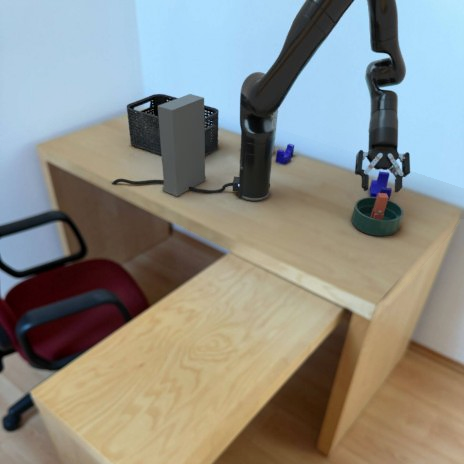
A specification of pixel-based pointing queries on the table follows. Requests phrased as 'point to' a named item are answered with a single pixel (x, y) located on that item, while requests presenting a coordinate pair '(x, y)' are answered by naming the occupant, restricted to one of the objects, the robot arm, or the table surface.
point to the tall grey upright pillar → (182, 143)
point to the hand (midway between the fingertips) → (381, 190)
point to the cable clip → (380, 185)
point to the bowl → (376, 226)
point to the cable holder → (285, 154)
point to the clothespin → (379, 206)
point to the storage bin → (147, 130)
